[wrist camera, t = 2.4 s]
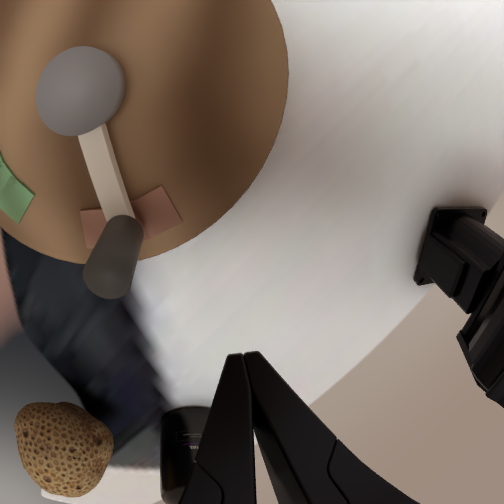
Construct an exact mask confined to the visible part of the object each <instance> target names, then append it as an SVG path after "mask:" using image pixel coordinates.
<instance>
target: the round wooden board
mask: <svg viewBox="0 0 504 504" xmlns="http://www.w3.org/2000/svg"><path fill="white" fill-rule="evenodd" d="M78 46H88V47H93V48H96V49H99V50H102V51H105V52H107V53H109V54H111V55H112V56H114V57H115V58H116V59H117V60H118V61H119V63H120V64H121V66H122V68H123V70H124V73H125V77H126V92H125V96H124V99H123V102H122V104H121V106H120V108H119V110H118V111H117V113H116V114H115V115H114V116H113V117H112V118H111V119H110V120H109V121H108V122H107V123H106V127H107V130H108V134H109V137H110V141H111V144H112V148H113V151H114V154H115V158H116V161H117V164H118V167H119V171H120V174H121V177H122V180H123V183H124V186H125V189H126V192H127V195H128V198H129V201H130V204H131V207H132V210H133V213H134V215H135V218H136V220H137V221H138V222H139V223H140V225H141V226H142V228H143V232H144V237H143V241H142V245H141V249H140V252H139V256H138V260H137V261H139V260H142V259H146V258H150V257H153V256H157V255H159V254H161V253H164V252H166V251H169V250H171V249H174V248H176V247H178V246H180V245H182V244H183V243H185V242H187V241H189V240H190V239H192V238H194V237H196V236H197V235H199V234H200V233H201V232H203V231H204V230H206V229H207V228H208V227H210V226H211V225H213V224H214V223H215V222H216V221H217V220H218V219H220V218H221V217H222V216H223V215H224V214H225V213H226V212H227V211H228V210H229V209H230V208H232V207H233V205H234V204H235V203H236V202H237V201H238V200H239V198H240V197H241V196H242V195H243V194H244V193H245V191H246V190H247V189H248V188H249V186H250V185H251V183H252V182H253V180H254V179H255V177H256V176H257V174H258V173H259V171H260V170H261V169H262V167H263V165H264V163H265V161H266V159H267V157H268V155H269V153H270V151H271V149H272V147H273V145H274V142H275V139H276V136H277V134H278V131H279V128H280V125H281V122H282V118H283V113H284V109H285V104H286V99H287V88H288V75H289V72H288V57H287V47H286V43H285V38H284V34H283V29H282V25H281V23H280V20H279V18H278V15H277V13H276V10H275V7H274V5H273V3H272V1H271V0H0V227H2V228H3V229H4V230H5V231H6V232H7V233H8V234H10V235H11V236H13V237H14V238H15V239H17V240H18V241H20V242H21V243H23V244H25V245H26V246H28V247H30V248H32V249H34V250H36V251H38V252H40V253H43V254H45V255H48V256H51V257H54V258H56V259H60V260H65V261H69V262H73V263H80V264H86V262H87V260H88V258H89V256H90V254H91V252H92V250H93V248H94V246H95V244H96V242H97V241H98V239H99V237H100V235H101V233H102V231H103V229H104V228H105V226H106V224H107V221H106V218H105V215H104V213H103V210H102V207H101V205H100V202H99V199H98V197H97V194H96V191H95V188H94V185H93V182H92V179H91V176H90V174H89V171H88V167H87V164H86V161H85V158H84V155H83V152H82V149H81V145H80V142H79V139H78V136H64V135H60V134H58V133H55V132H54V131H52V130H51V129H49V128H48V127H47V126H46V125H45V124H44V123H43V121H42V119H41V118H40V116H39V114H38V110H37V107H36V88H37V84H38V81H39V78H40V76H41V74H42V72H43V70H44V69H45V67H46V66H47V65H48V63H49V62H50V61H51V60H52V59H53V58H54V57H56V56H57V55H58V54H60V53H61V52H63V51H65V50H67V49H70V48H73V47H78Z"/></svg>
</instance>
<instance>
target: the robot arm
mask: <svg viewBox="0 0 504 504" xmlns="http://www.w3.org/2000/svg"><path fill="white" fill-rule="evenodd" d="M438 213H439V214H438ZM486 216H487V210H486V209H485V208H484V207H436V208H435V209H433V211H432V213H431V217H430V222H429V226H428V230H427V234H426V238H425V242H424V246H423V250H422V254H421V257H420V261H419V264H418V268H417V271H416V275H415V278H414V281H415V283H416V284H417V285H425V284H430V283H435V284H436V285H437V286H438V287H439V288H440V289H441V290H442V291H443V292H444V293H445V294H446V295H447V296H448V297H449V298H452V299H453V300H454V301H455V302H456V303H457V304H458V305H459V306H460V307H461V309H462V310H463V311H464V312H465V313H466V314H470V313H471V315H470V317H469V319H468V321H467V322H466V324H465V325H464V327H463V329H462V330H460V331H459V333H458V334H457V336H456V338H457V340H458V342H459V344H460V346H461V349H462V351H463V353H464V355H465V358H466V360H467V363H468V365H469V367H470V370H471V372H472V375H473V377H474V379H475V381H476V383H477V385H478V386H479V387H480V388H481V389H483V391H485V392H486V396H487V397H488V398H490V399H491V400H493V401H495V402H497V403H498V404H500V405H501V406H502V407H503V408H504V239H503V238H502V237H501V236H499V235H498V234H497V233H495V232H494V231H492V230H491V229H490V228H488V227H487V226H485V225H484V223H485V219H486ZM253 428H254V429H253ZM254 432H255V435H256V438H257V441H258V444H259V447H260V450H261V453H262V457H263V460H264V463H265V465H266V468H267V471H268V474H269V477H270V480H271V483H272V486H273V489H274V492H275V494H276V497H277V500H278V503H279V504H420V503H418V502H416V501H414V500H413V499H411V498H410V497H408V496H407V495H405V494H404V493H403V492H401V491H400V490H398V489H397V488H396V487H394V486H393V485H391V484H390V483H388V482H387V481H386V480H384V479H383V478H382V477H380V476H379V475H378V474H376V473H375V472H374V471H373V470H371V469H370V468H369V467H368V466H366V465H365V464H364V463H363V462H361V461H360V460H359V459H358V458H357V457H356V456H355V455H354V454H353V453H352V452H351V451H350V450H349V449H348V448H347V447H346V446H345V445H344V444H343V443H342V442H341V441H340V440H339V439H337V437H336V436H335V435H334V434H333V433H332V432H331V431H330V430H329V429H328V428H327V426H326V425H325V424H324V423H323V422H322V421H321V420H320V419H319V418H318V417H317V416H316V415H315V414H314V413H313V411H312V410H311V409H310V408H309V407H308V406H307V405H306V404H305V403H304V402H303V400H302V399H301V398H300V397H299V396H298V395H297V394H296V393H295V392H294V390H293V389H292V388H291V387H290V386H289V385H288V384H287V383H286V382H285V380H284V379H283V378H282V377H281V376H280V375H279V374H278V372H277V371H276V370H275V369H274V368H273V367H272V366H271V364H270V363H269V362H268V361H267V360H266V359H265V358H264V356H263V355H262V354H261V353H260V352H259V351H252V352H245V353H244V354H242V353H235V354H229V355H228V356H227V358H226V361H225V364H224V367H223V370H222V374H221V377H220V380H219V383H218V386H217V390H216V393H215V396H214V399H213V402H212V406H211V409H210V412H209V415H208V418H207V421H206V425H205V428H204V431H203V434H202V437H201V440H200V444H199V447H198V450H197V453H196V456H195V459H194V460H195V462H194V463H193V465H192V468H191V471H190V474H189V477H188V480H187V483H186V485H185V488H184V491H183V493H182V496H181V498H180V500H179V502H178V504H257V500H256V479H255V455H254ZM336 439H337V440H336Z"/></svg>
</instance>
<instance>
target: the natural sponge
mask: <svg viewBox="0 0 504 504" xmlns="http://www.w3.org/2000/svg"><path fill="white" fill-rule="evenodd" d="M14 427H15V432H16V438H17V445H18V451H19V455H20V458H21V461H22V464H23V466H24V468H25V470H26V471H27V472H28V474H29V475H30V476H31V478H32V479H33V480H34V481H35V482H36V483H37V484H38V485H39V486H40V487H41V488H42V489H44V490H45V491H47V492H49V493H51V494H55V495H62V496H65V497H80V496H82V495H84V494H87V493H88V492H89V491H91V490H92V489H93V488H94V487H96V485H97V484H98V483H99V481H100V480H101V478H102V476H103V474H104V472H105V470H106V467H107V465H108V463H109V461H110V458H111V455H112V452H113V445H114V443H113V436H112V433H111V432H110V430H109V429H108V428H107V426H106V425H104V424H103V423H102V422H101V421H99V420H98V419H96V418H95V417H93V416H92V415H90V414H89V413H88V412H87V411H85V410H84V409H83V408H81V407H79V406H77V405H75V404H72V403H68V402H60V403H56V404H55V403H43V402H40V403H39V402H36V403H30V404H27V405H26V406H24V407H23V408H22V409H21V410H20V411H19V412H18V414H17V417H16V419H15V425H14Z"/></svg>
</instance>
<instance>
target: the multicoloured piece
mask: <svg viewBox="0 0 504 504" xmlns="http://www.w3.org/2000/svg"><path fill="white" fill-rule="evenodd" d="M125 92H126V77H125V73H124V70H123V68H122V66H121V64H120V63H119V61H118V60H117V59H116V58H115V57H114V56H112V55H111V54H109V53H107V52H105V51H102V50H99V49H96V48H93V47H88V46H78V47H73V48H70V49H67V50H65V51H63V52H61V53H60V54H58V55H57V56H56V57H54V58H53V59H52V60H51V61H50V62H49V63H48V65H47V66H46V67H45V69H44V70H43V72H42V74H41V76H40V78H39V81H38V84H37V88H36V107H37V110H38V114H39V116H40V118H41V119H42V121H43V123H44V124H45V125H46V126H47V127H48V128H49V129H51V130H52V131H54V132H55V133H58V134H60V135H64V136H78V139H79V142H80V145H81V149H82V152H83V155H84V158H85V161H86V164H87V167H88V171H89V174H90V176H91V179H92V182H93V185H94V188H95V191H96V194H97V197H98V199H99V202H100V205H101V207H102V210H103V213H104V215H105V218H106V221H107V224H106V226H105V228H104V229H103V231H102V233H101V235H100V237H99V239H98V241H97V242H96V244H95V246H94V248H93V250H92V252H91V254H90V256H89V258H88V260H87V262H86V264H85V266H84V269H83V279H84V282H85V284H86V286H87V287H88V288H89V289H90V290H91V291H92V292H93V293H94V294H96V295H97V296H100V297H102V298H106V299H116V298H120V297H122V296H124V295H125V294H126V293H127V292H128V291H129V289H130V287H131V283H132V279H133V275H134V271H135V267H136V263H137V260H138V256H139V252H140V249H141V245H142V241H143V237H144V232H143V228H142V226H141V225H140V223H139V222H138V221H137V220H136V218H135V215H134V213H133V210H132V207H131V204H130V201H129V198H128V195H127V192H126V189H125V186H124V183H123V180H122V177H121V174H120V171H119V167H118V164H117V161H116V158H115V154H114V151H113V148H112V144H111V141H110V137H109V134H108V130H107V127H106V123H107V122H108V121H109V120H110V119H111V118H112V117H113V116H114V115H115V114H116V113H117V111H118V110H119V108H120V106H121V104H122V102H123V99H124V96H125Z"/></svg>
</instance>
